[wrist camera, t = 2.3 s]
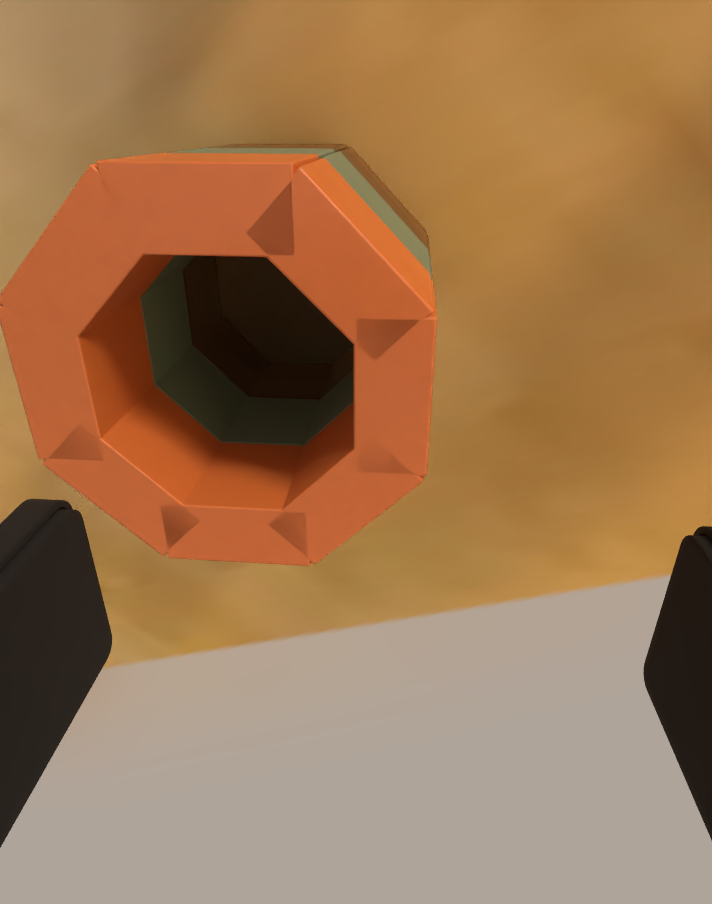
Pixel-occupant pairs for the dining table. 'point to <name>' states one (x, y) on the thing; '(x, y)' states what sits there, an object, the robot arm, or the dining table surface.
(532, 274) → the dining table surface
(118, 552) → the dining table surface
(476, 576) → the dining table surface
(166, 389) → the ring middle
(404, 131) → the dining table surface
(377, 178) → the ring bottom
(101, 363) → the ring top
